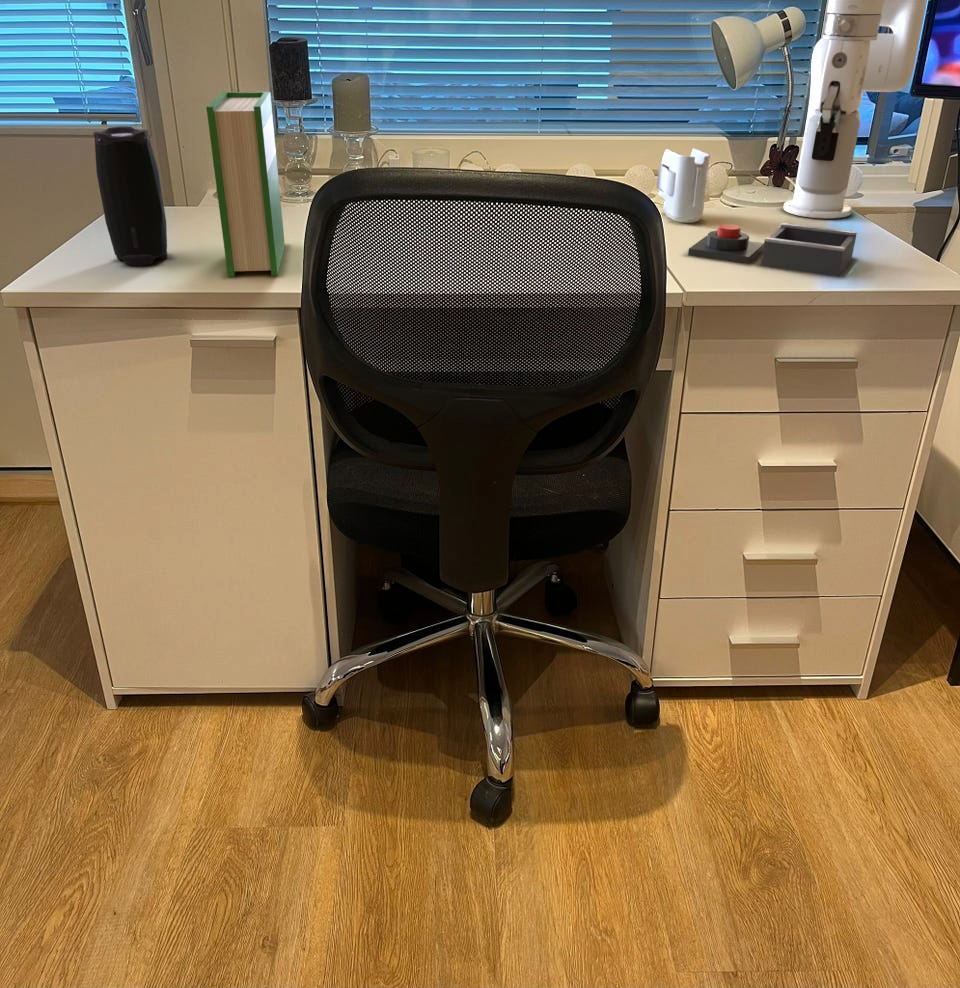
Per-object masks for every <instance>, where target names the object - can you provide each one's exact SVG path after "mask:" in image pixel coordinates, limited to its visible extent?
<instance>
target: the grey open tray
mask: <svg viewBox="0 0 960 988" xmlns="http://www.w3.org/2000/svg"><path fill="white" fill-rule="evenodd" d="M857 235H858V231H853V230H844V229H835V228H828V227H819V226H812V225H802V224H794V223H787V222H782V223H781V224H780V227H779V228H777V229H776V230H775V231H774V232H773V233H772V234H771V235H770V236H769V237H767V236H766V237H765V238H764V242H763V243H764V247H763V251H762V253H761V254H762V255H761V260H760V266H761V267H767V268H772V269H779V270H780V269H782V270H787V271H795V272H801V273H809V274H815V275H821V276H828V277H829V276H830V277H837V278H838V277H840V275H841V274H842V273H843V271H844V270H845V268H846V267H847V266H848V264H849V263H850V261H852V259H853V255H854V249H855V244H856V240H857Z"/></svg>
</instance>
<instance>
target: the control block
mask: <svg viewBox="0 0 960 988" xmlns="http://www.w3.org/2000/svg"><path fill="white" fill-rule="evenodd" d="M717 233H718V229H717V230H711V231H709V232H708V233H707V235H705V236H704V237H703V238H701V239H700V240H699V241H697V242H696V243H695V244H693V245H691V247H689V248H688V252H687V256H689V257H694V258H695V257H696V258H702V259H709V260H717V261H723V262H730V263H737V264H745V265H749V264H750V263H751V262H752V261H753V260H754V259H755V258H756V257H757V256H759V255H760V254H762V253H763V247H764V242H758V241H750V236H749V234H747V233H745V232H742V231H740V237H739V238H723V237H719V236H717Z"/></svg>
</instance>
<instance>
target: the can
mask: <svg viewBox="0 0 960 988" xmlns="http://www.w3.org/2000/svg"><path fill="white" fill-rule="evenodd" d="M833 110H837V109H833ZM814 111H815V114H814V115H813V116H812V117H811V118H810V119H809V120H808V126H807V132H806V138H805V144H804V149H803V155H802V161H801V167H800V173H799V179H798V185H799V186H800V187H801V189H802V191H804V192H806V193H810V194H816V195H837V194H840V193H841V192H842V191H843V190H845V189H846V188H847V189H848V185H849V182H850V181H849V180H850V175H851V172H852V171H851V170H852V166H853V162H854V161H853V160H854V157H855V156H854V155H855V151H856V145H857V140H858V135H859V130H860V125H861V120H860V121H859V120H858V118H857V117H856V114H858V112H857V111H856V110H855V111H854V112H852V113H851V114H849V115H846V111H842V115H841V118H840V122H839V126H838V129H837V133H839V135H838V140H837V146H836V151H835V156H834V160H832V161H822V160H813V159H812V152H813V146H814V140H815V135H816V131H817V127H818V123H819V119H820V115H821V113H820V112H819V110H818V108H817V109H815V110H814ZM835 118H836V117H835ZM834 122H835V120H834Z"/></svg>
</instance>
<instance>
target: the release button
mask: <svg viewBox="0 0 960 988" xmlns="http://www.w3.org/2000/svg"><path fill="white" fill-rule="evenodd" d="M717 227H718V228H717V230H718V233H717V236H719V237H723V238H739V237H740V232H741V228H742V227H741V226H740V225H737V224H731V223H723V224H719V225H718V226H717Z"/></svg>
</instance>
